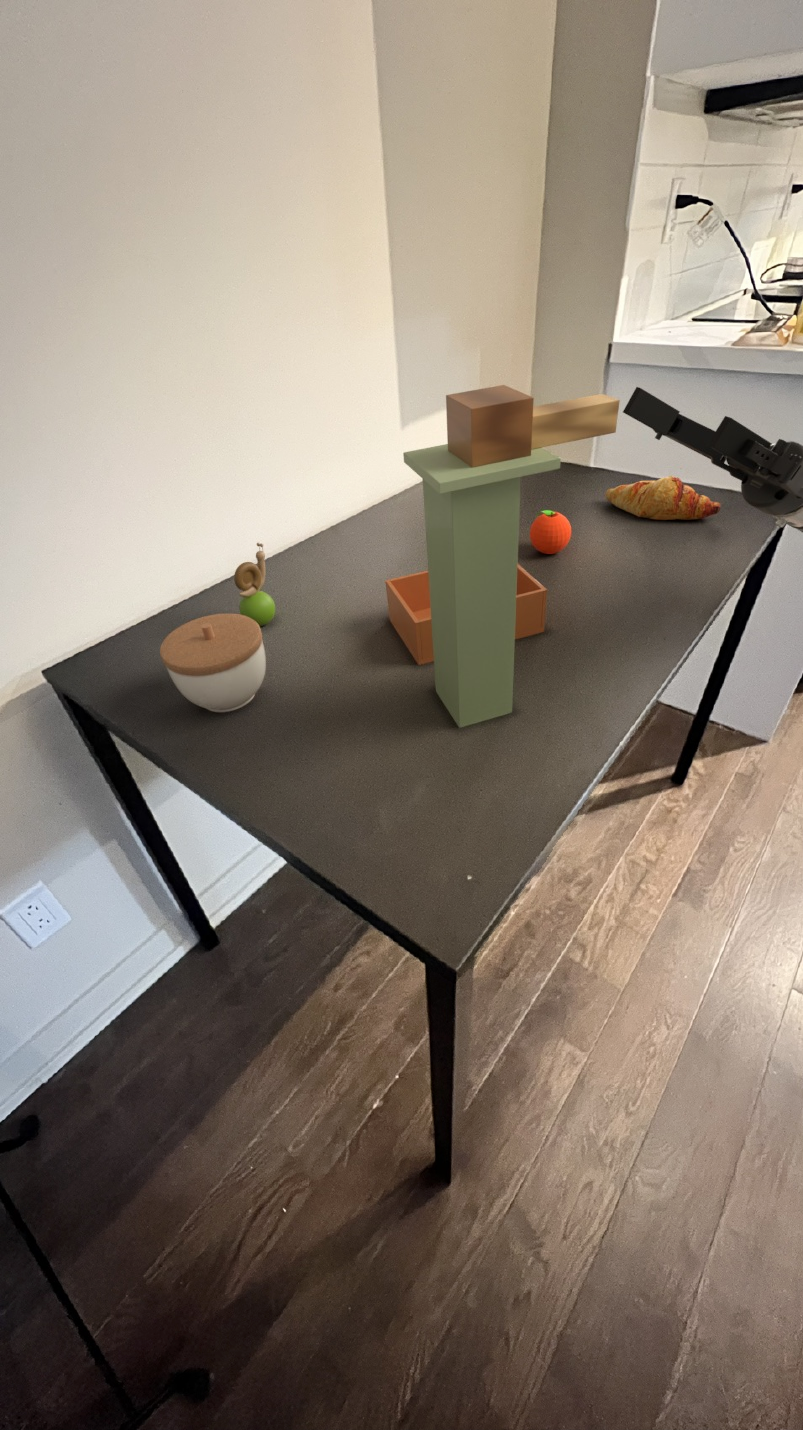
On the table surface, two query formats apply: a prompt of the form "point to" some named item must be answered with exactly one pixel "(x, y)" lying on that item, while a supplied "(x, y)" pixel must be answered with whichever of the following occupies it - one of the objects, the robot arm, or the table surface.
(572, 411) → the mallet
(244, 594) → the snail figurine
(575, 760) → the table surface
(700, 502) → the croissant
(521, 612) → the open box
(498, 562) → the shelf stand
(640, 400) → the robot arm
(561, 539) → the clementine
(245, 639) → the lidded bowl
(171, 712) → the table surface
